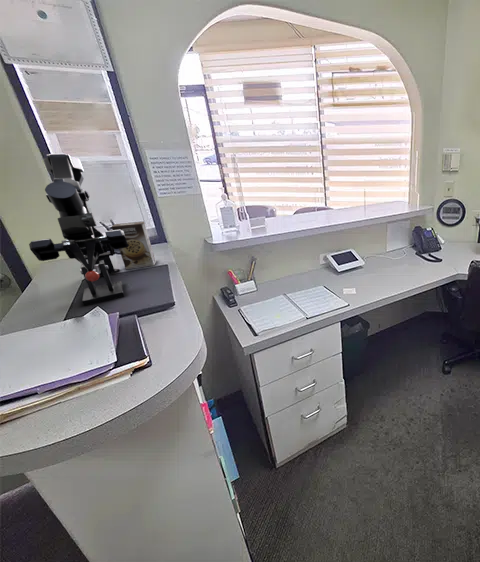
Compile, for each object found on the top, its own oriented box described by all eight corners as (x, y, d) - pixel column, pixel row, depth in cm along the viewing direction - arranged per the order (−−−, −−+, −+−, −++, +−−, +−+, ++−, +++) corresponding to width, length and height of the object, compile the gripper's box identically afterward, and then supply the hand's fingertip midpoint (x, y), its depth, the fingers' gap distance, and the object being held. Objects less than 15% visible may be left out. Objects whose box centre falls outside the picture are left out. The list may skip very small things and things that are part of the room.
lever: (100, 280, 81) (97, 270, 80) (86, 283, 80) (82, 273, 79) (102, 272, 92) (99, 263, 91) (90, 274, 90) (86, 265, 89)
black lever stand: (124, 296, 91) (112, 264, 87) (83, 305, 85) (69, 272, 82) (122, 285, 99) (111, 256, 96) (85, 293, 94) (73, 262, 90)
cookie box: (125, 269, 114) (109, 226, 108) (128, 265, 119) (114, 223, 113) (154, 265, 118) (141, 223, 112) (156, 261, 123) (144, 220, 117)
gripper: (13, 208, 73) (25, 262, 69) (112, 199, 84) (128, 246, 80) (33, 235, 82) (45, 285, 78) (121, 224, 93) (135, 268, 89)
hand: (90, 270), depth 81 cm, fingers closed
